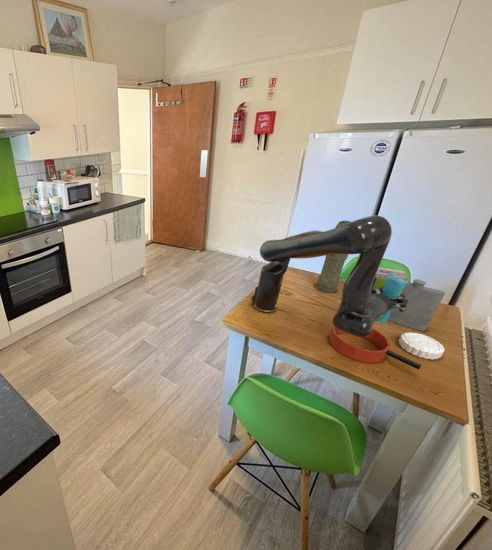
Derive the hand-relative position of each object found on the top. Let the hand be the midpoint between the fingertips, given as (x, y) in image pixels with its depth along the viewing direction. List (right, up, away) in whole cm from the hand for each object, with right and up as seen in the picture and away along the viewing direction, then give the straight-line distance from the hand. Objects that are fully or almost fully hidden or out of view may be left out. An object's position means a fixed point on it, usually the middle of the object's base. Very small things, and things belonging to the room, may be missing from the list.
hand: (391, 292), depth 113 cm
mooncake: (+8, -21, -2) cm, 23 cm away
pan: (-11, -22, -3) cm, 25 cm away
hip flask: (+14, -13, +12) cm, 23 cm away
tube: (-2, -11, +4) cm, 12 cm away
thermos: (0, 0, +38) cm, 38 cm away
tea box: (+17, -5, +29) cm, 34 cm away
